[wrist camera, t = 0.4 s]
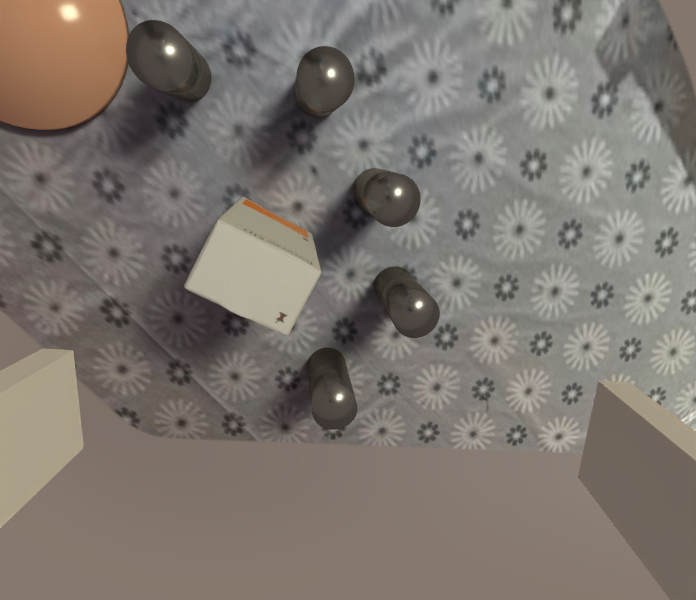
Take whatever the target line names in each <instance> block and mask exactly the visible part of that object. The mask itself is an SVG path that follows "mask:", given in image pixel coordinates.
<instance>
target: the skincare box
mask: <svg viewBox="0 0 696 600" xmlns="http://www.w3.org/2000/svg"><path fill="white" fill-rule="evenodd" d="M320 275H321V269H320V265H319V261H318V257H317V253H316V248H315V245H314V240H313V236H312V233H311V232H309V231H306V230H304V229H302V228H300V227H298V226H297V225H295V224H293V223H291V222H289V221H287V220H285V219H283V218H281V217H279V216H277V215H275V214H273V213H272V212H270V211H268V210H266V209H265V208H263V207H261V206H259V205H258V204H256V203H254V202H252V201H250V200H249V199H247V198H245V197H241V198H240V199H239V200H238V201H237V202H236V203H235V204H234V205H233V206H232V207H231V208H230V209H229V210H227V211H226V212H225V213H224V214H223V215H222V216H221V217H220V218H219V219H218V220H217V221H216V223H215V225H214V227H213V229H212V231H211V232H210V234H209V236H208V238H207V240H206V242H205V244H204V246H203V248H202V250H201V252H200V254H199V256H198V258H197V260H196V262H195V264H194V266H193V268H192V270H191V272H190V274H189V276H188V278H187V280H186V282H185V285H184V287H185V289H187V290H188V291H190V292H192V293H195V294H197V295H199V296H201V297H203V298H205V299H208V300H210V301H212V302H214V303H216V304H218V305H220V306H222V307H224V308H226V309H227V310H229V311H231V312H233V313H235V314H237V315H239V316H241V317H244V318H247V319H250V320H252V321H254V322H256V323H259V324H261V325H263V326H265V327H268V328H270V329H272V330H274V331H276V332H278V333H281V334H283V335H285V336H288V335H289V333H290V331H291V329H292V328H293V326H294V324H295V322H296V320H297V318H298V316H299V314H300V312H301V310H302V309H303V307H304V305H305V303H306V301H307V299H308V297H309V295H310V294H311V292H312V290H313V288H314V286H315V284H316V282H317V281H318V279H319V277H320Z"/></svg>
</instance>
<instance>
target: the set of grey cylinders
mask: <svg viewBox="0 0 696 600" xmlns="http://www.w3.org/2000/svg"><path fill="white" fill-rule="evenodd" d="M126 56H127V60H128V63H129V66H130V68H131V69H132V71H133V72H134V74H135V75H136V76H137V77H138V78H139V79H140V80H141V81H142V82H144V83H145V84H147V85H149V86H151V87H153V88H156V89H158V90H160V91H163V92H165V93H167V94H170V95H172V96H174V97H176V98H179V99H181V100H185V101H195V100H198V99H200V98H201V97H203V96H204V95H205V94H206V93H207V91H208V90H209V87H210V84H211V71H210V68H209V65H208V63H207V62H206V60H205V59H204V58H203V57H202V56H201V55H200V54H199V52H198V51H197V50H196V49H195V48H194V47H193V46H192V45H191V44H190V43H189V42H188V41H187V40H186V39H185V38H184V37H183V36H182V35H181V34H180V33H179V32H178V31H177V30H176V29H175V28H174V27H172V26H171V25H169V24H167V23H165V22H162V21H157V20H149V21H145V22H142V23H140V24H138V25H137V26H136V27H135V28H134V29H133V30H132V31H131V32H130V34H129V36H128V39H127V43H126ZM353 87H354V72H353V68H352V65H351V63H350V61H349V60H348V58H347V57H346V56H345V55H344V54H343V53H342V52H341V51H339V50H337V49H335V48H332V47H328V46H321V47H317V48H314V49H312V50H310V51H309V52H308V53H307V54H305V56H304V57H303V58H302V60H301V61H300V64H299V66H298V70H297V76H296V84H295V98H296V101H297V103H298V105H299V107H300V108H301V109H302V111H303V112H305V113H306V114H308V115H310V116H312V117H324V116H327V115H329V114H331V113H332V112H333V111H335V110H336V109H337V108H339V107H340V106H341V105H343V104H344V103H345V102H346V101H347V100H348V98H349V97H350V95H351V93H352V90H353ZM353 191H354V197H355V200H356V202H357V203H358V204H359V205H360V206H361V207H362V208H363V209H364V210H365V211H366V212H368V213H369V214H370V215H371V216H372V217H374V218H375V219H376V220H377V221H378V222H380V223H381V224H383V225H386V226H389V227H398V226H402V225H404V224H406V223H408V222H409V221H410V220H412V219H413V218H414V216H415V215H416V213H417V212H418V209H419V206H420V192H419V189H418V187H417V185H416V184H415V182H414V181H413V180H412V179H410V178H409V177H407V176H405V175H402V174H398V173H394V172H390V171H386V170H382V169H378V168H372V169H368V170H366V171H364V172H362V173H361V174H360V175H359V176H358V178H357V179H356V181H355V184H354V189H353ZM374 289H375V293H376V295H377V297H378V299H379V300H380V302H381V304H382V305H383V307H384V309H385V310H386V312H387V314H388V315H389V317H390V319H391V320H392V322H393V324H394V326H395V327H396V329H397V330H398V331H399V332H400V333H401V334H402V335H404V336H406V337H410V338H419V337H422V336H425V335H427V334H428V333H430V332H431V331H432V330H433V329H434V328H435V326H436V325H437V323H438V320H439V315H440V312H439V307H438V305H437V303H436V301H435V300H434V299H433V298H432V297H431V296H430V295H429V294H428V293H427V292H426V291H425V290H424V289H423V287H422V286H421V285H420V284H419V283H418V282H417V281H416V280H415V279H414V278H413V277H412V276H411V275H410V274H409V273H408V272H407V271H406V270H405V269H403V268H400V267H389V268H387V269H385V270H383V271H382V272H381V273H380V274H379V275H378V276H377V278H376V280H375V284H374ZM308 371H309V382H310V393H311V403H312V414H313V417H314V420H315V421H316V422H317V423H318V424H319V425H320V426H321V427H323V428H326V429H333V430H334V429H340V428H343V427H345V426H347V425H349V424H350V423H351V422H352V421H353V420H354V418H355V416H356V413H357V403H356V400H355V396H354V392H353V388H352V385H351V381H350V377H349V373H348V370H347V366H346V362H345V359H344V357H343V355H342V354H341V353H340V352H339V351H338V350H336V349H333V348H322V349H319V350H317V351H316V352H315V353H313V354H312V356H311V357H310V359H309V362H308Z"/></svg>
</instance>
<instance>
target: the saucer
mask: <svg viewBox="0 0 696 600" xmlns="http://www.w3.org/2000/svg"><path fill="white" fill-rule="evenodd" d="M128 36H129V31H128V24H127V19H126V16H125V12H124V9H123V6H122V3H121V1H120V0H0V121H2V122H5V123H8V124H11V125H14V126H19V127H23V128H29V129H38V130H58V129H65V128H70V127H73V126H77V125H80V124H82V123H84V122H86V121H89V120H91V119H92V118H94V117H95V116H97V115H98V114H99V113H101V112H102V111H103V110H104V109H105V108H106V107H107V106H108V105H109V104H110V103H111V101H112V100H113V99H114V98H115V96H116V95H117V93H118V91H119V89H120V87H121V86H122V83H123V80H124V78H125V75H126V71H127V67H128V60H127V56H126V43H127V39H128Z"/></svg>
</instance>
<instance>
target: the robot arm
mask: <svg viewBox="0 0 696 600" xmlns="http://www.w3.org/2000/svg"><path fill="white" fill-rule="evenodd" d="M83 448H84V447H83V437H82V428H81V419H80V410H79V400H78V392H77V381H76V372H75V363H74V353H73V350H57V349H41V350H39V351H37V352H36V353H34V354H32V355H30V356H28V357H26V358H24V359H22V360H20V361H18V362H17V363H15V364H13V365H11V366H9V367H7V368H5V369H3V370H1V371H0V528H1V527H2V526H3V525H4V524H5V523H6V522H7V521H8V520H9V519H10V518H11V517H12V516H13V515H14V514H15V513H16V512H17V511H19V509H21V508H22V507H23V506H24V505H25V504H26V503H27V502H28V501H29V500H30V499H31V498H32V497H33V496H34V495H35V494H36V493H37V492H38V491H39V490H40V489H41V488H42V487H43V486H44V485H45V484H47V483H48V482H49V481H50V480H51V479H52V478H53V477H54V476H55V475H56V474H57V473H58V472H59V471H60V470H61V469H62V468H63V467H64V466H65V465H66V464H67V463H68V462H69V461H70V460H71V459H72V458H73V457H74V456H76V455H77V454H78V453H79V452H80V451H81V450H82V449H83ZM578 478H579V479H580V480H581V482H582V483H583V484H584V486H585V487H586V488H587V490H588V491H589V492H590V493H591V495H592V496H593V498H594V499H595V500H596V502H597V503H598V504H599V506H600V507H601V508H602V510H603V511H604V512H605V514H606V515H607V516H608V517H609V519H610V520H611V522H612V523H613V524H614V526H615V527H616V528H617V529H618V531H619V532H620V534H621V535H622V536H623V538H624V539H625V540H626V542H627V543H628V544H629V546H630V547H631V548H632V549H633V551H634V552H635V554H636V555H637V556H638V557H639V559H640V560H641V562H642V563H643V564H644V565H645V567H646V568H647V569H648V571H649V572H650V573H651V575H652V576H653V577H654V579H655V580H656V581H657V583H658V584H659V585H660V587H661V588H662V589H663V591H664V592H665V593H666V595H667V596H668V597H669V599H670V600H696V431H694V430H693V429H692V428H690V427H689V426H688V425H686V424H685V423H684V422H682V421H681V420H679V419H678V418H677V417H675V416H674V415H673V414H671V413H670V412H669V411H667V410H666V409H664V408H663V407H662V406H660V405H659V404H658V403H656V402H655V401H654V400H652V399H651V398H649V397H648V396H647V395H645V394H644V393H643V392H641V391H640V390H639V389H637V388H636V387H634V386H633V385H632V384H630V383H627V382H610V381H598V384H597V389H596V394H595V399H594V403H593V408H592V413H591V418H590V422H589V427H588V432H587V437H586V441H585V446H584V451H583V456H582V460H581V465H580V470H579V474H578Z"/></svg>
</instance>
